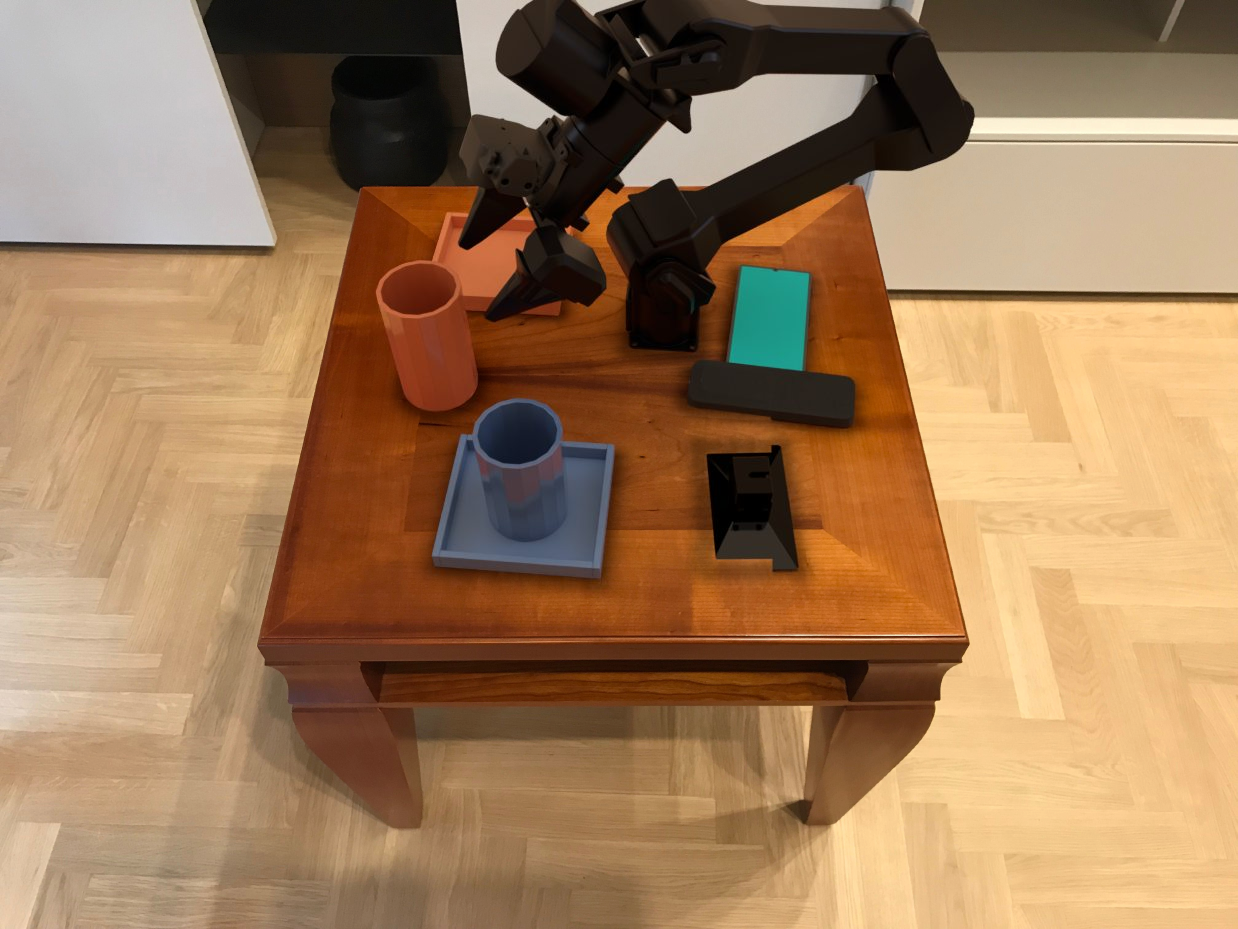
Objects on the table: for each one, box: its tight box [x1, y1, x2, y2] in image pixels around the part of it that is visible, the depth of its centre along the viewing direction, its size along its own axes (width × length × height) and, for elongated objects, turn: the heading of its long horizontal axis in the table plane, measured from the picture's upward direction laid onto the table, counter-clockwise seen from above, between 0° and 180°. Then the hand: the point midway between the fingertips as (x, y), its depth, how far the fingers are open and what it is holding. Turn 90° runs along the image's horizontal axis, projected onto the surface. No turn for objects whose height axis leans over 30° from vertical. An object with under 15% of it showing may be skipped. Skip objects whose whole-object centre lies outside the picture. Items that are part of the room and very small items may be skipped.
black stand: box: [705, 444, 800, 572], centre depth 77 cm, size 12×7×5 cm, turn 1°
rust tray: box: [431, 211, 574, 317], centre depth 95 cm, size 13×12×2 cm
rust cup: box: [375, 259, 479, 412], centre depth 82 cm, size 7×7×12 cm
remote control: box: [686, 358, 856, 429], centre depth 85 cm, size 5×2×15 cm
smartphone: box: [725, 264, 813, 371], centre depth 90 cm, size 7×1×15 cm
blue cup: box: [471, 397, 569, 542], centre depth 74 cm, size 7×7×10 cm
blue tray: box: [431, 433, 616, 580], centre depth 77 cm, size 13×12×2 cm
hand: (474, 282), depth 78 cm, fingers open, 9 cm apart
